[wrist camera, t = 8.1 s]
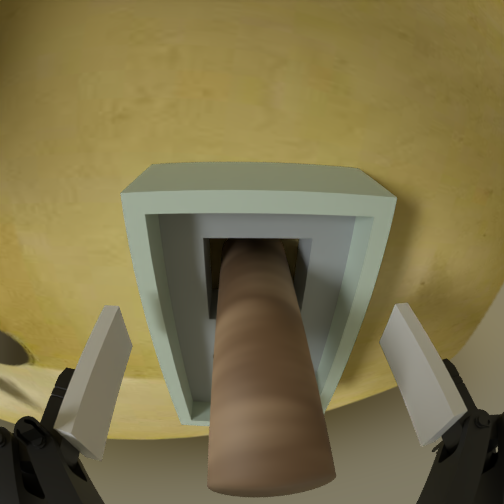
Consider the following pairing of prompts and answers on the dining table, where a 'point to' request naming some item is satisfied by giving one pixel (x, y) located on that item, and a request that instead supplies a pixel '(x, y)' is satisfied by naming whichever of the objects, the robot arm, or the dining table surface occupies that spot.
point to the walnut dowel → (263, 381)
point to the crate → (252, 226)
